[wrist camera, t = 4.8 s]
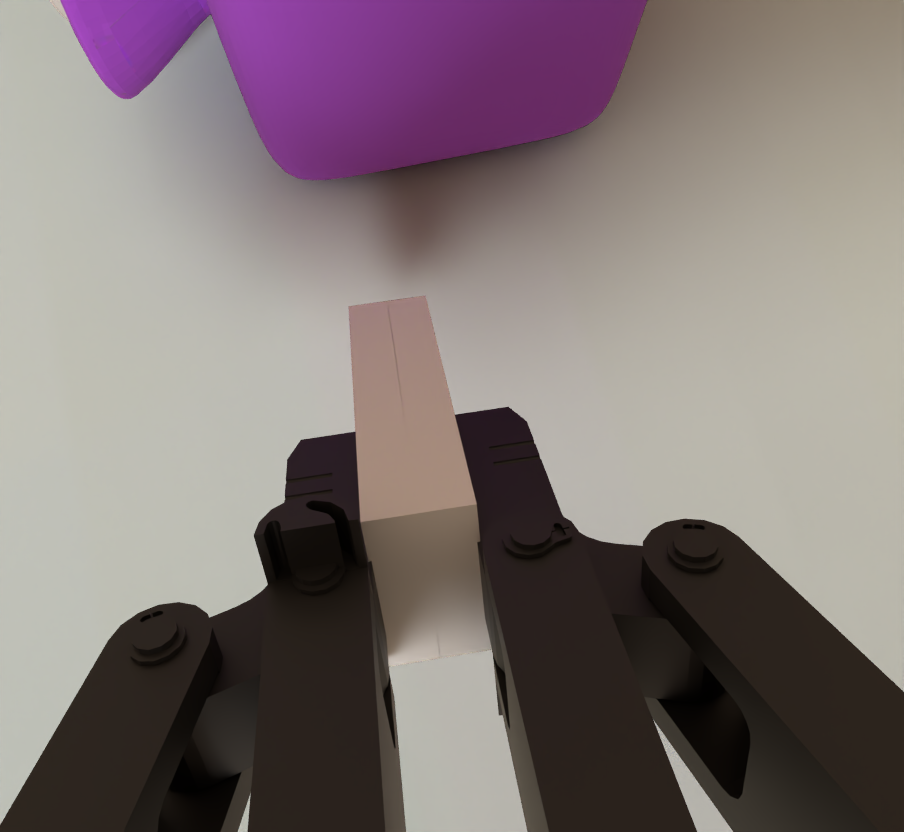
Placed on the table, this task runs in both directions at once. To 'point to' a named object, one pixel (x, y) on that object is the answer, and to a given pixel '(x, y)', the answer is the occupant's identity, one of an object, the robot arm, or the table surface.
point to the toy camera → (380, 70)
